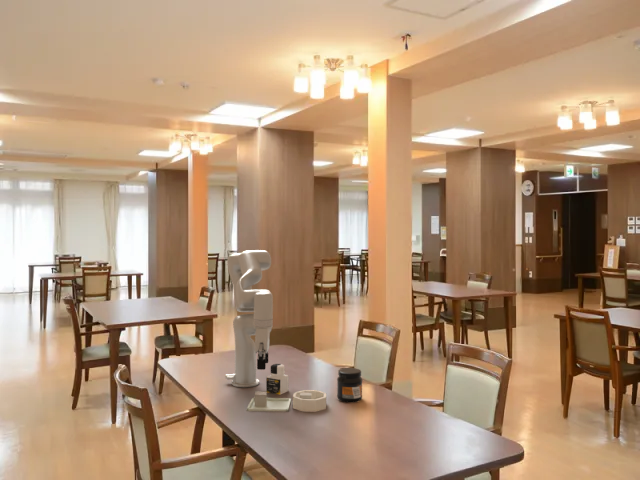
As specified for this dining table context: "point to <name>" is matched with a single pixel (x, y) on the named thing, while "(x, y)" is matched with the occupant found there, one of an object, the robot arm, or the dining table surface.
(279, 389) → the medicine bottle
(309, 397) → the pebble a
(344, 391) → the supplement container
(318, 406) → the bowl
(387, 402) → the dining table surface
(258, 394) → the beige small block
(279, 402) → the tray
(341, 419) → the dining table surface
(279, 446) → the dining table surface
